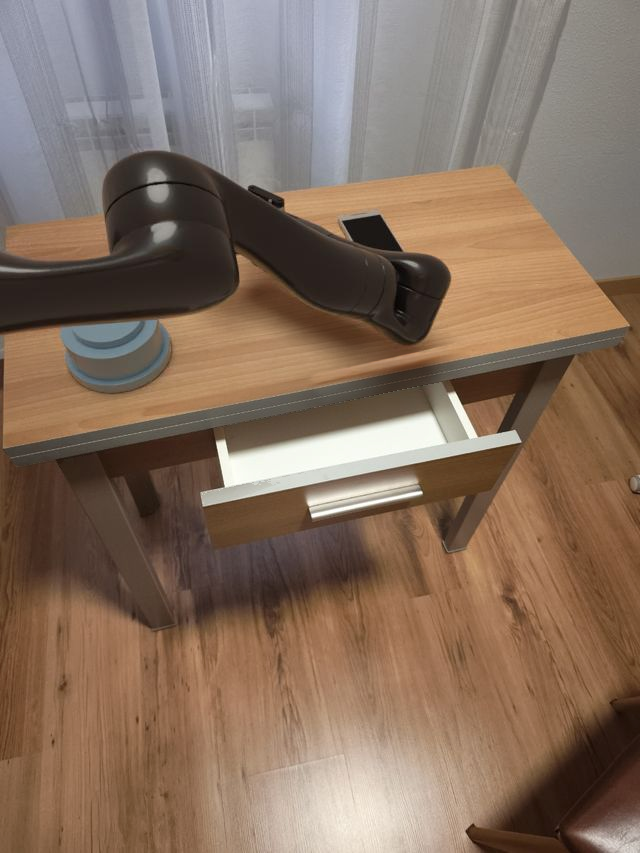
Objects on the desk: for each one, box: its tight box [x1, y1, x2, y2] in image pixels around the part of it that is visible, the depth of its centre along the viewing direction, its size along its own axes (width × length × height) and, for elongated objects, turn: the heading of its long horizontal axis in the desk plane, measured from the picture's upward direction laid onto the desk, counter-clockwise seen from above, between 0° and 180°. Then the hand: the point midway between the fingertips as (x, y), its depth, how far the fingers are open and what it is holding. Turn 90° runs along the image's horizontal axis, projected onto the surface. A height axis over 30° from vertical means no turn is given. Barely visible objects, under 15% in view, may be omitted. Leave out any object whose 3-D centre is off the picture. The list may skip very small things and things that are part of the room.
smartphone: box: [337, 208, 406, 252], centre depth 88 cm, size 7×15×1 cm, turn 17°
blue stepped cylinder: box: [59, 319, 172, 394], centre depth 71 cm, size 13×13×7 cm
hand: (193, 206), depth 76 cm, fingers open, 8 cm apart
